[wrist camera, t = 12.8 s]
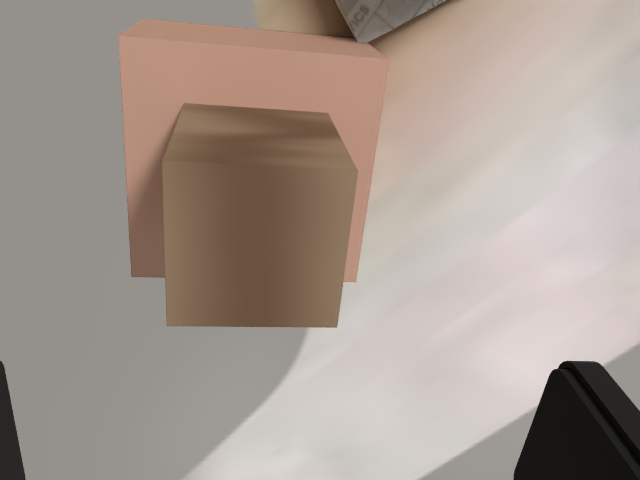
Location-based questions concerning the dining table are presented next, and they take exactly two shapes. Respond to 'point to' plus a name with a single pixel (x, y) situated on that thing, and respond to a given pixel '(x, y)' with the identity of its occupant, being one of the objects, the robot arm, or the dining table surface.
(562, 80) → the dining table surface
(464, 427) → the dining table surface
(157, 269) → the base block
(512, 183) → the dining table surface
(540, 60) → the dining table surface
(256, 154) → the walnut block
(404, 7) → the packaged product
